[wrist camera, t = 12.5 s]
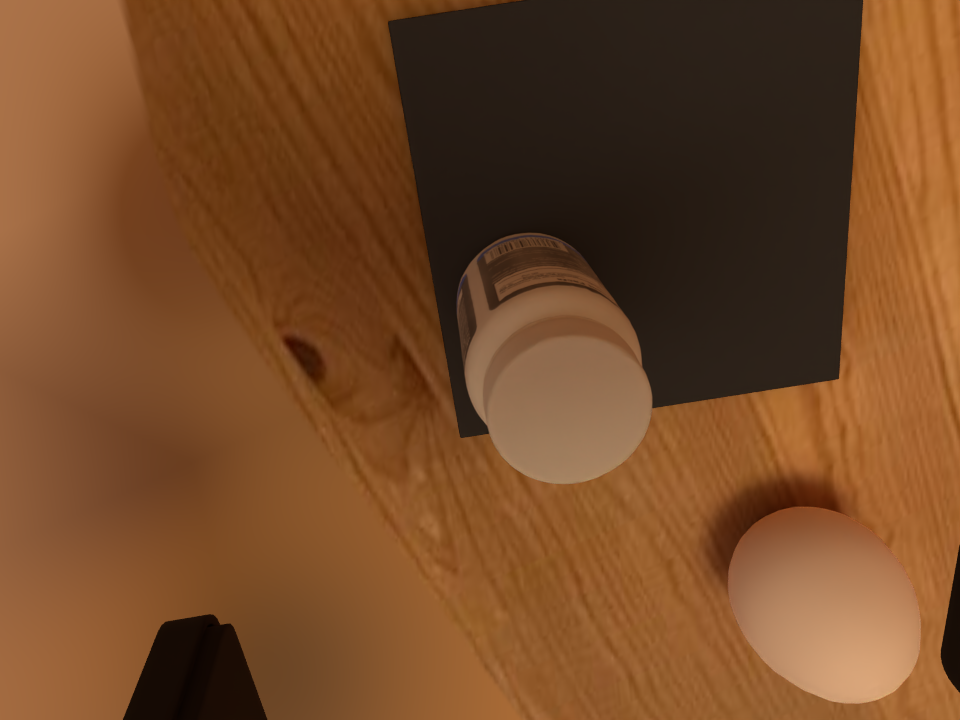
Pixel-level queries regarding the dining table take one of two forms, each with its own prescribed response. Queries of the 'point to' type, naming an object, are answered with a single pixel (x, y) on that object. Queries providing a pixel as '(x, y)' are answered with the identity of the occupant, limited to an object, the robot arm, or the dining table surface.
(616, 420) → the pill bottle
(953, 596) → the robot arm
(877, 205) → the dining table surface
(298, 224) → the dining table surface
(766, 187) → the slate mat
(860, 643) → the egg
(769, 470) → the dining table surface
